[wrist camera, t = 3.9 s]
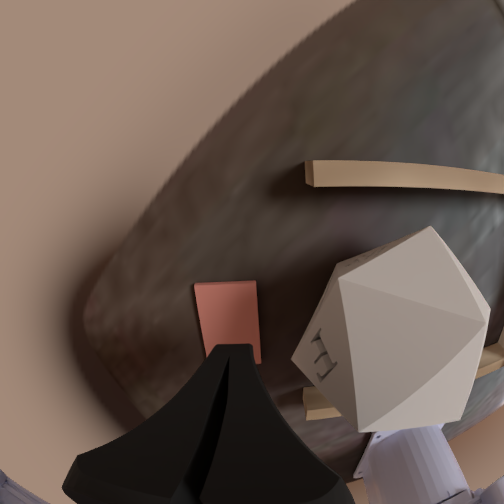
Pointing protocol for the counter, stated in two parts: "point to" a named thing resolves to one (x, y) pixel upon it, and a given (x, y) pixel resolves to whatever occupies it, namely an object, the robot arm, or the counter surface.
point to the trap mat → (229, 314)
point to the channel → (399, 176)
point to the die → (397, 336)
